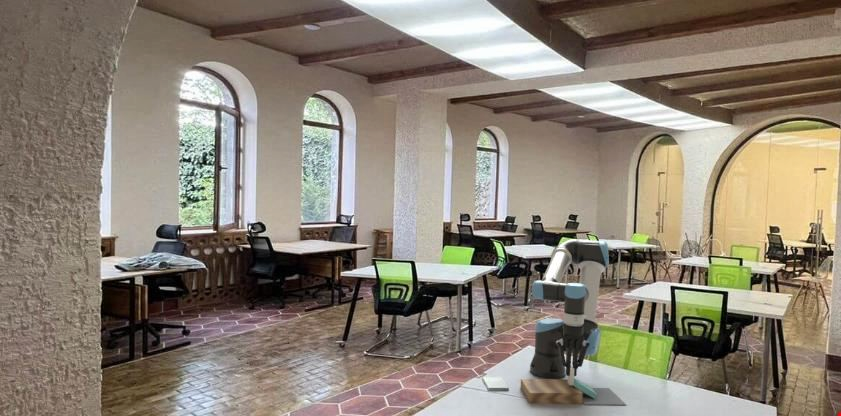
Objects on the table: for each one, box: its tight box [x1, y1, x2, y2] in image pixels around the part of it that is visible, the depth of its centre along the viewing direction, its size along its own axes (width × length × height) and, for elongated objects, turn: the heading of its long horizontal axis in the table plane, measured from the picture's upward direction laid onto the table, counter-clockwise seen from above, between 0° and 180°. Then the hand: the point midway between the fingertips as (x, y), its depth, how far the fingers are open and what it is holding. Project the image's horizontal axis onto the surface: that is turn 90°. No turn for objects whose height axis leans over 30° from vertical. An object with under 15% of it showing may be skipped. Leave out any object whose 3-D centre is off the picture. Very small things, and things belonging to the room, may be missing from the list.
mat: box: [580, 387, 627, 406], centre depth 207 cm, size 16×16×1 cm
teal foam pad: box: [574, 377, 597, 399], centre depth 206 cm, size 9×6×2 cm, turn 93°
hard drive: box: [481, 376, 510, 392], centre depth 216 cm, size 2×8×12 cm
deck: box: [519, 378, 583, 405], centre depth 205 cm, size 20×14×4 cm
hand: (570, 383), depth 206 cm, fingers closed
